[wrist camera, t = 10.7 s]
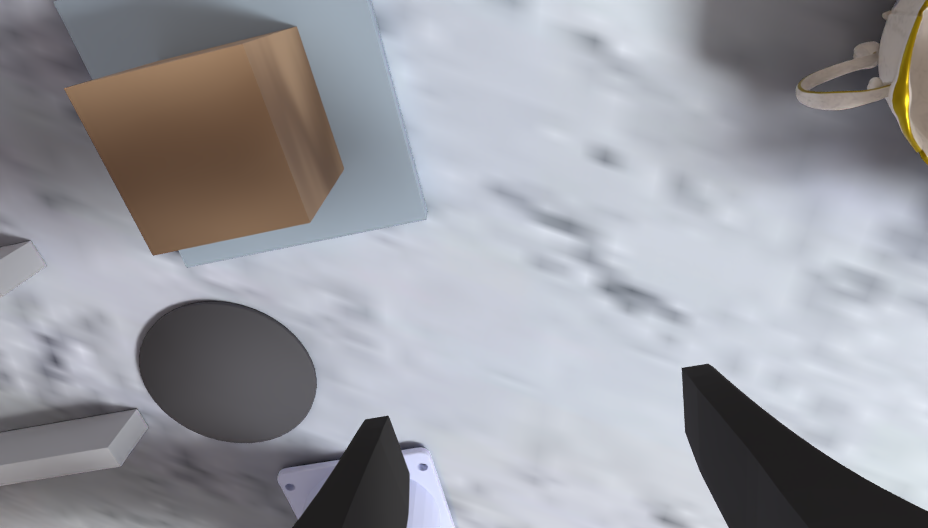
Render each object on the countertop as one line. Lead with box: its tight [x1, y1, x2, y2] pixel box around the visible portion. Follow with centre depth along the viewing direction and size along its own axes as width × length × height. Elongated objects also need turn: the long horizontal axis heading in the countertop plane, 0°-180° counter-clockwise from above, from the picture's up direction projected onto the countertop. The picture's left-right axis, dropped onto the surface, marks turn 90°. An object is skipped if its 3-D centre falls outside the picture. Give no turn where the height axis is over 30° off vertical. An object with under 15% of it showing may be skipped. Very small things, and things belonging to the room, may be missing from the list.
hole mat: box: [139, 302, 317, 443], centre depth 26 cm, size 8×8×1 cm
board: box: [53, 0, 428, 268], centre depth 20 cm, size 10×10×1 cm
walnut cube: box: [64, 26, 344, 256], centre depth 18 cm, size 5×5×5 cm
